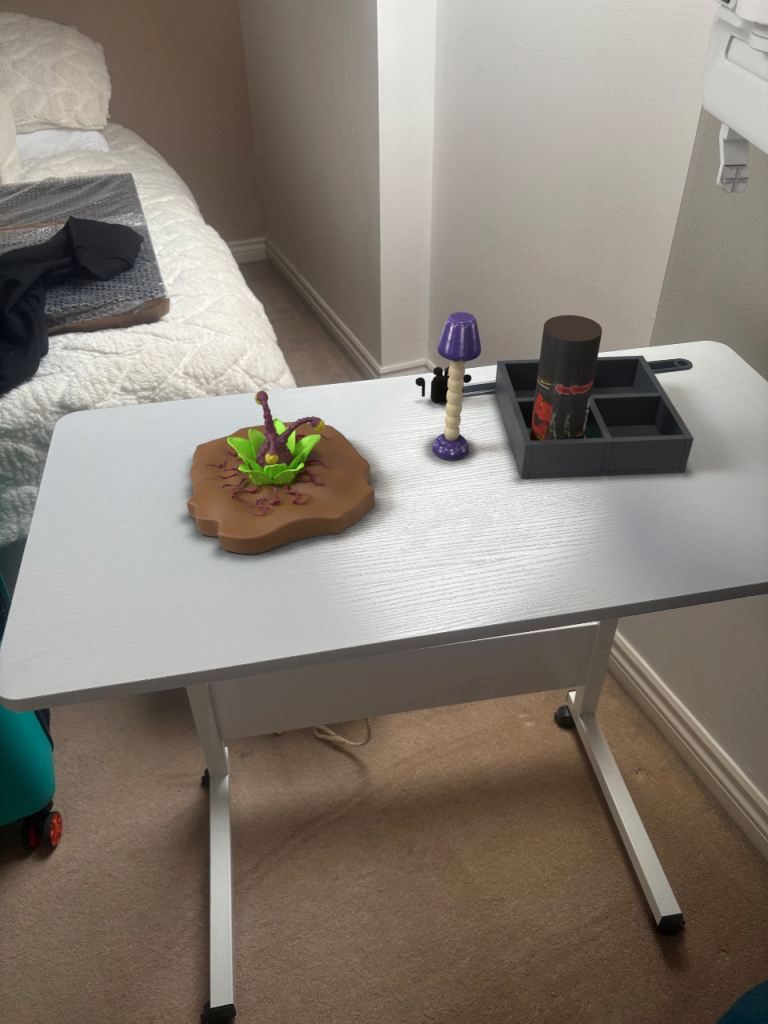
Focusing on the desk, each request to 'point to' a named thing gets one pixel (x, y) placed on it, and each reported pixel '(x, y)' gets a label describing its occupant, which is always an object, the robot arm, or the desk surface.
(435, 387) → the wireless earbuds
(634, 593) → the desk surface
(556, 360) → the deodorant
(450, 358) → the toy lamp
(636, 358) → the compartment tray
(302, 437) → the plant
